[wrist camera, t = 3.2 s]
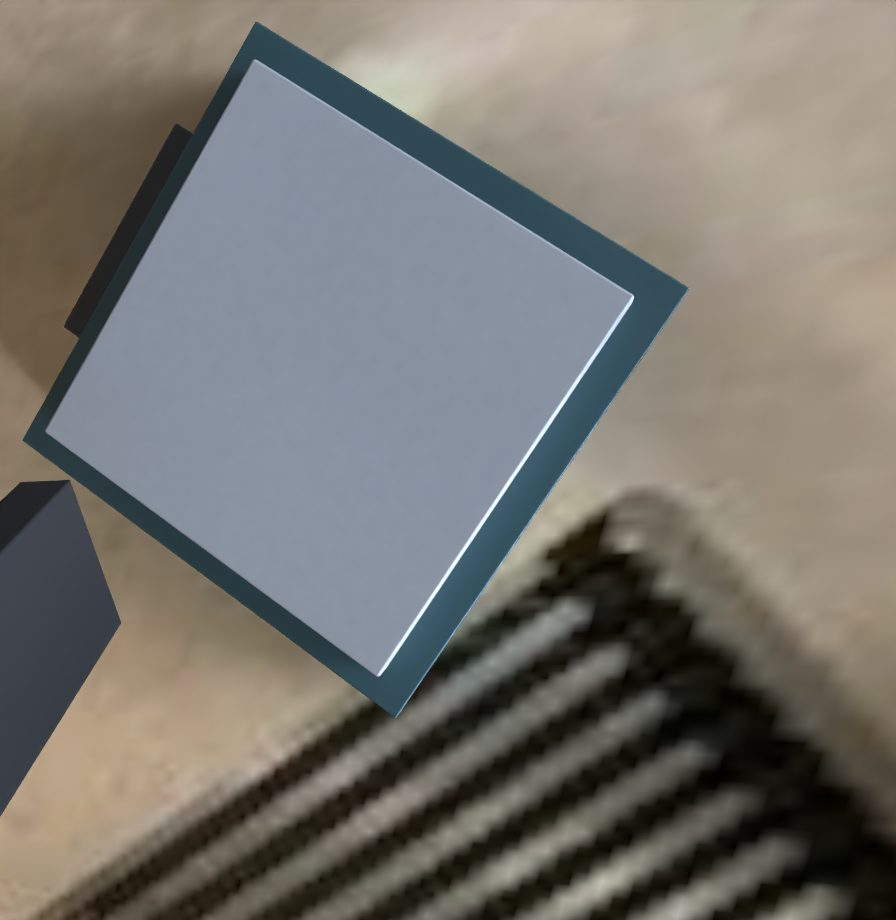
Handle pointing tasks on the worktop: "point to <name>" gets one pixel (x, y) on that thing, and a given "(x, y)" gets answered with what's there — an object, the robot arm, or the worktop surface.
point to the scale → (341, 363)
